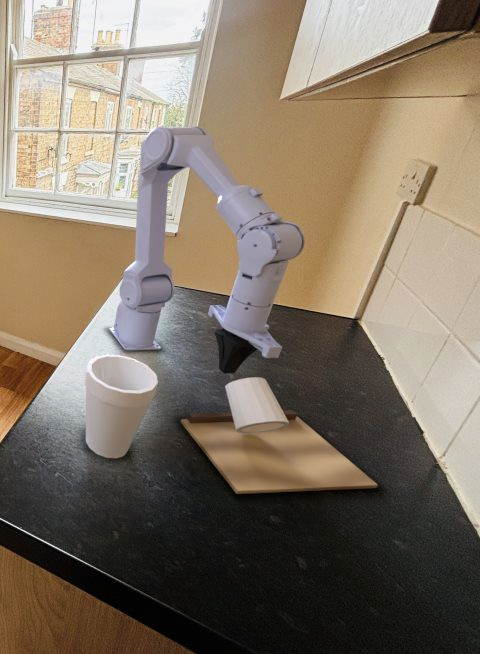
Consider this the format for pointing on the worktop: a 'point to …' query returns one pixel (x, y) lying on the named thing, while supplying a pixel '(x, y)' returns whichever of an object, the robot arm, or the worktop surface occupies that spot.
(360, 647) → the worktop surface
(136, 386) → the foam cup
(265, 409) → the white faceted cup
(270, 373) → the worktop surface
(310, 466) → the board
